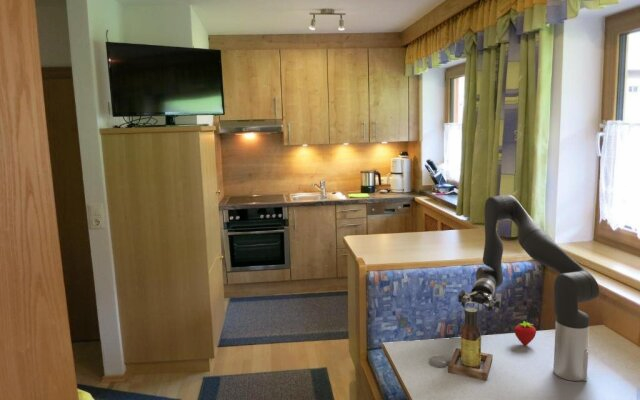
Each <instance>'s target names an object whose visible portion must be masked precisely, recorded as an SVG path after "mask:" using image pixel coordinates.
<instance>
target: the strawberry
mask: <svg viewBox="0 0 640 400" xmlns="http://www.w3.org/2000/svg"><path fill="white" fill-rule="evenodd" d="M524 319H525V320H527V318H524ZM525 320H523V322H522V323H520V322H519V323H517V325H516V326H514V327H515V328H514V335H515V337H516V338H517V339H518V341H519V342H520V343H521V344H522V345H523V346H528V345H529V344H530V343H531V342H532V341H533V339H534V338H535V337H536V334H537V329H536V327H535V326H534V324H533V323H530V322H528V321H525Z"/></svg>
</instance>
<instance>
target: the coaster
mask: <svg viewBox="0 0 640 400" xmlns="http://www.w3.org/2000/svg"><path fill="white" fill-rule="evenodd" d="M450 360H451V359H450V358H448V357H447V356H444V355H432V356H430V357H429V359H428V364H430V366H433V367H435V368H442V369H444V368H448V365H449V362H450Z"/></svg>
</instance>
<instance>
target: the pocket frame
mask: <svg viewBox="0 0 640 400" xmlns="http://www.w3.org/2000/svg"><path fill="white" fill-rule="evenodd" d="M460 359H461V348H460V347H459V348H457V347H455V349H454V352H453V353H452V356H451V358H450V359H449V360H450V362H449V365H448V367H447V373H448V374H453V375H457V376H462V377H468V378H473V379H477V380H483V381H488V378H489V375H490V371H491V369H492V364H493V354H490V353H485V352H481V363H482V362H483V363H484V365H483V368H482V369H481V368H480V369H475V368H470V367H465V366H462V365H459V364H458V362H459V360H460Z"/></svg>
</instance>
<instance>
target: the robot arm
mask: <svg viewBox="0 0 640 400" xmlns="http://www.w3.org/2000/svg"><path fill="white" fill-rule="evenodd" d="M503 220H511V221H512V222H513V223H514V224H515V225H516V226H517V240H518V243H519V246H521V248H522V249H523V250H524V251H525V253H527V255H529V257H530V258H531V259H533V260H534V261H536V262H538V263H539V264H541V265H543V266H545V267H547V268H549V269H551V270H554V271H556V272H557V273H558V275H557V276H556V278H555V279H554V285H553V310H554V313H555V329H554V330H555V332H554V333H555V334H554V335H555V336H554V349H553V350H554V351H553V368H552V369H553V373H554V375H556V376H557V377H559V378H561V379H563V380H567V381H571V382H581V381H582V382H583V381H584V382H587V380H588V366H589V365H588V364H589V338H590V337H589V336H590V322H591V320H590V319H591V318H590V316H589V314H588V313H586V312H585V311H583V310H580V309H579V303H585V302H589V301H593V300H596V299H597V298H598V296H599V295H600V286H599V283H598V282H597V280H596V278H595V277H594V276H593V274H591V273H590V272H589V271H588V269H585V268H584V267H583V266H582V265H581V264H580V263H578V262H577V261H576V260H575V259H573V258H572V256H571V257H570V255H569V254H568V253H567V252H566V251H565V250H564V249H563V248H562V247H560V246H559V245H558V244H557V242H556V241H555V240H554V239H553V238H552V237H551V236H550V235H549V234H548V233H547V232H546V231H545V230H544V229H543V228H542V227H541V226H540V225H539V224H538V223H537V222H536V221H535V220H534V219H533V218H532V217H531V216H530V215H529V213H528V212H527V211H526V210H525V208H524V207H523V206H522V204H521V203H520V202H519V201H518V199H517V198H516V197H514V196H513V195H511V194H502V195H500V194H499V195H495V196H489V197H488V198H486V201H485V202H484V248H483V255H482V262H483V264H484V265H485V266H480V267H478V268H477V269H476V272H475V283H474V284H473V287H472V288H471V290H470V291H469V292H466V291H465V290H461V291H460V293H459V294H458V298H457V301H458V303H460V305H461V306H462V307H463V308H466V306H467V304H471V305H472V304H480V305H485V306H486V307H488V308H487V309H488V312H491V311H493V310H494V309H495V308H496V309H500V308H501V301H502V299H501V298H502V296H501V295H496V296H494V295H495V289H496V288H498V287H500V286H501V285H502V284H503V281H504V275H503V267H502V258H503V253H504V244H503V240H502V239H501V238H500V235H499V234H498V231H497V223H498V221H503Z"/></svg>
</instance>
